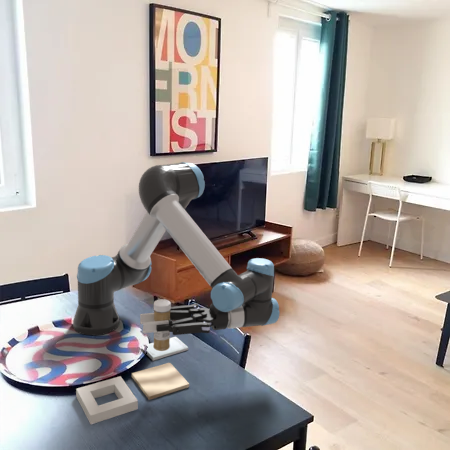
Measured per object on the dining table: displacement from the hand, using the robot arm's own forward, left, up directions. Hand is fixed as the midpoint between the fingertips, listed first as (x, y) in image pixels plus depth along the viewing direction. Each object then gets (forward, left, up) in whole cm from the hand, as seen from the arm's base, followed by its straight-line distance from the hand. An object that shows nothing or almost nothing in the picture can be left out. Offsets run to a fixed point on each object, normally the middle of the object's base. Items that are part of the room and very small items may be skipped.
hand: (142, 323), depth 122 cm
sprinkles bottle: (+1, +5, -8) cm, 10 cm away
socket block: (+3, -11, -19) cm, 22 cm away
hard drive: (-14, +14, -19) cm, 27 cm away
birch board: (+1, +5, -19) cm, 19 cm away
